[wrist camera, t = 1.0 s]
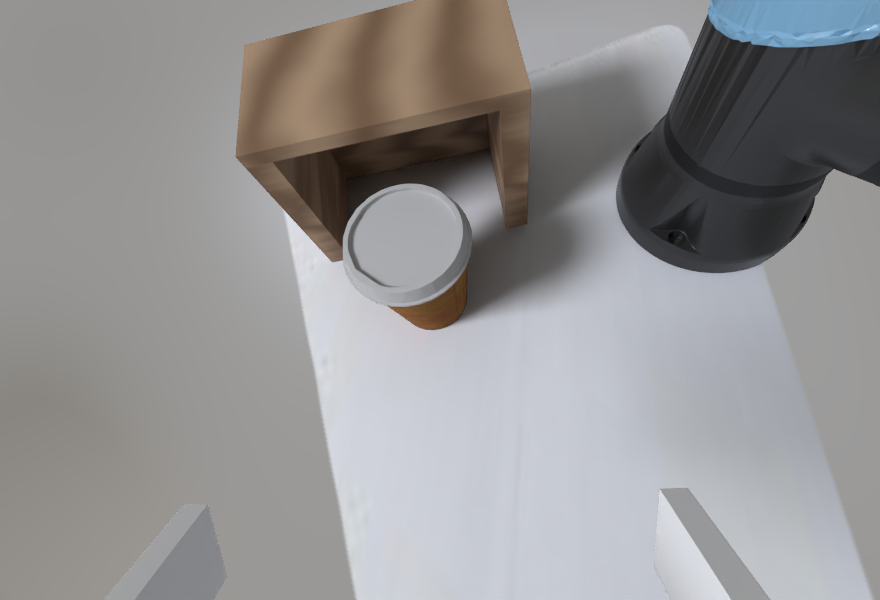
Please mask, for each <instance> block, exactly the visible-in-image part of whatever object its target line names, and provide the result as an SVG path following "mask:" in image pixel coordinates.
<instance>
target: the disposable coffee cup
mask: <svg viewBox="0 0 880 600" xmlns="http://www.w3.org/2000/svg"><path fill="white" fill-rule="evenodd" d="M471 249H472V231H471V227H470V224H469V221H468V219H467V217H466V215H465V213H464V212H463V210H462V209H461V208H460V207H459V205H458V204H457V203H455V202H454V201H453V200H452V199H451V198H449V197H447V196H446V195H445V194H443V193H442V192H441V191H439V190H437V189H435V188H433V187H429V186H426V185H423V184H411V183H410V184H399V185H395V186H391V187H388V188H385V189H383V190H380V191H379V192H377V193H375V194H374V195H372V196H370V197H369V198H367V199H366V200H365V201H364V202H363V203H362V204H361V205H360V206H359V207H358V208H357V209H356V210H355V212H354V213H353V215H352V216H351V218H350V220H349V221H348V223H347V226H346V229H345V233H344V236H343V264H344V267H345V271H346V274H347V276H348V278H349V280H350V281H351V283H352V284H353V286H354V287H355V288H356V289H357V290H358V291H359V292H360V293H361V294H363V295H364V296H365V297H367V298H368V299H370V300H372V301H374V302H376V303H379V304H383V305H387V306H388V307H390V308H391V309H393V310H394V311H395V312H397V313H398V314H400V315H401V316H403V317H404V318H405V319H407V320H408V321H410V322H411V323H412V324H414V325H415V326H417V327H419V328H422V329H426V330H436V329H441V328H444V327H447V326H449V325H450V324H452V323H453V322H454V321H456V320H457V319H458V317H459V316H460V315H461V314H462V312H463V310H464V308H465V305H466V298H467V263H468V261H469V258H470V255H471Z"/></svg>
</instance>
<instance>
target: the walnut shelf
mask: <svg viewBox="0 0 880 600" xmlns="http://www.w3.org/2000/svg"><path fill="white" fill-rule="evenodd" d="M530 106H531V87H530V83H529V79H528V76H527V72H526V69H525V65H524V62H523V58H522V54H521V51H520V47H519V43H518V40H517V36H516V33H515V29H514V25H513V22H512V18H511V15H510V11H509V7H508V4H507V0H414V1H411V2H407V3H403V4H400V5H395V6H392V7H388V8H384V9H380V10H376V11H373V12H369V13H365V14H361V15H358V16H354V17H350V18H347V19H342V20H339V21H335V22H331V23H327V24H324V25H320V26H316V27H312V28H308V29H304V30H301V31H297V32H293V33H289V34H285V35H282V36H278V37H274V38H270V39H266V40H263V41H259V42H255V43H251V44H247V45H244V58H243V70H242V84H241V95H240V108H239V120H238V121H239V122H238V134H237V147H236V158H237V159H238V160H239V161H240V162H241V163H242V164H243V166H244V167H245V168H246V169H247V170H248V171H249V172H250V173H251V174H252V175H253V176H254V177H255V179H256V180H257V181H258V182H259V183H260V184H261V185H262V186H263V187H264V188H265V189H266V191H267V192H269V194H270V195H271V196H272V197H273V198H274V199H275V200H276V201H277V203H278V204H279V205H280V206H281V207H282V208H283V209H284V210H285V211H286V212H287V214H288V215H289V216H290V217H291V218H292V219H293V220H294V221H295V222H296V223H297V224H298V226H299V227H300V228H301V229H302V230H303V231H304V232H305V233H306V234H307V235H308V236H309V237H310V239H311V240H312V241H313V242H314V243H315V244H316V245H317V246H318V247H319V248H320V249H321V251H322V252H323V253H324V254H325V255H326V256H327V257H328V258H329V259H330V260H331V261H332V262H335V261H340V260H343V236H344V233H345V229H346V226H347V223H348V221H349V212H348V190H347V179H351V178H355V177H360V176H365V175H369V174H374V173H378V172H383V171H388V170H392V169H397V168H401V167H406V166H411V165H415V164H420V163H424V162H429V161H433V160H438V159H443V158H447V157H452V156H456V155H461V154H466V153H470V152H475V151H479V150H484V149H489V148H490V152H491V157H492V162H493V167H494V171H495V176H496V181H497V186H498V190H499V195H500V200H501V205H502V209H503V214H504V219H505V224H506V228H509V227H514V226H519V225H524V224H527V204H528V171H529V138H530Z"/></svg>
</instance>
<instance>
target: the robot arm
mask: <svg viewBox="0 0 880 600" xmlns="http://www.w3.org/2000/svg"><path fill="white" fill-rule="evenodd" d="M708 10H709V11H708V12H709V13H708V15H707V18H706V20H705V22H704V25H703V27H702V30H701V32H700V35H699V37H698V39H697V42H696V44H695V47H694V49H693V52H692V54H691V56H690V59H689V61H688V64H687V66H686V69H685V71H684V73H683V76H682V78H681V81H680V83H679V86H678V88H677V90H676V93H675V95H674V98H673V100H672V103H671V105H670V107H669V110H668V112H667V114H666V115H665V116H664V117H663V118H662V119H661V120H660V121H659V122H658V123H657V125H656V126H655V127H654V128H653V130H652V131H651V132H650V133H648V134H647V135H646V136H645V137H644V138H643V139H642V140H641V141H640V142H639V143H638V144H637V145H636V146H635V147H634V149H633V150H632V151H631V153H630V155H629V156H628V158H627V160H626V162H625V164H624V167H623V169H622V172H621V175H620V178H619V181H618V185H617V191H616V201H617V208H618V212H619V215H620V218H621V220H622V222H623V224H624V226H625V228H626V229H627V231H628V232H629V234H630V235H631V236H632V237H633V239H634V240H635V241H636V242H637V243H638V244H639V245H641V246H642V247H643V248H644V249H645V250H647V251H648V252H649V253H651V254H652V255H654V256H655V257H657V258H659V259H661V260H663V261H665V262H667V263H669V264H672V265H674V266H677V267H680V268H684V269H688V270H692V271H698V272H706V273H725V272H733V271H739V270H743V269H747V268H750V267H753V266H756V265H758V264H760V263H762V262H764V261H766V260H768V259H769V258H771V257H772V256H774V255H775V254H776V253H777V252H779V251H780V250H781V249H782V248H783V247H785V246H786V245H787V244H788V243H789V242H791V241H792V240H793V239H794V238H795V237H796V236H797V235H798V233H799V232H800V231H801V230H802V228H803V227H804V225H805V224H806V222H807V220H808V218H809V216H810V214H811V211H812V208H813V205H814V200H815V196H816V195H817V194H818V192H819V191H820V189H821V187H822V184H823V182H824V180H825V177H826V175H827V174H828V173H830V172H831V171H832V170H833V169H836V170H839V171H841V172H844V173H846V174H849V175H852V176H855V177H857V178H860V179H863V180H865V181H867V182H870V183H873V184H875V185H877V186H879V187H880V0H711V4H710V6H709V9H708ZM654 568H655V570H656V572H657V574H658V576H659V578H660V580H661V582H662V584H663V586H664V588H665V590H666V592H667V594H668V596H669V598H670V600H770V598H769V597H768V596H767V594H766V593H765V592H764V590H763V589H762V588H761V586H760V585H759V583H758V582H757V581H756V579H755V578H754V577H753V575H752V574H751V573H750V571H749V570H748V569H747V567H746V566H745V564H744V563H743V562H742V560H741V559H740V558H739V556H738V555H737V554H736V552H735V551H734V550H733V548H732V547H731V546H730V544H729V543H728V541H727V540H726V539H725V537H724V536H723V535H722V533H721V532H720V531H719V529H718V528H717V527H716V525H715V524H714V523H713V521H712V520H711V518H710V517H709V516H708V514H707V513H706V512H705V510H704V509H703V508H702V506H701V505H700V504H699V502H698V501H697V499H696V498H695V497H694V495H693V494H692V493H691V491H690V490H689V489H688V488H675V489H660V493H659V506H658V518H657V531H656V544H655V556H654ZM226 578H227V573H226V569H225V566H224V562H223V558H222V555H221V551H220V547H219V544H218V540H217V536H216V533H215V529H214V525H213V522H212V518H211V514H210V511H209V507H208V504H192V505H182V507H181V508H180V509H179V510H178V511H177V513H176V514H175V515H174V516H173V517H172V519H171V520H170V521H169V522H168V523H167V525H166V526H165V527H164V528H163V529H162V531H161V532H160V533H159V534H158V535H157V537H156V538H155V539H154V540H153V541H152V543H151V544H150V545H149V546H148V547H147V548H146V550H145V551H144V552H143V553H142V554H141V556H140V557H139V558H138V559H137V560H136V562H135V563H134V564H133V565H132V566H131V567H130V569H129V570H128V571H127V572H126V574H125V575H124V576H123V577H122V578H121V579H120V581H119V582H118V583H117V584H116V585H115V586H114V588H113V589H112V590H111V591H110V593H109V594H108V595H107V596H106V597H105V598H104V600H214V598H215V597H216V595H217V593H218V591H219V590H220V588H221V586H222V584H223V583H224V581H225V579H226Z"/></svg>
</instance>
